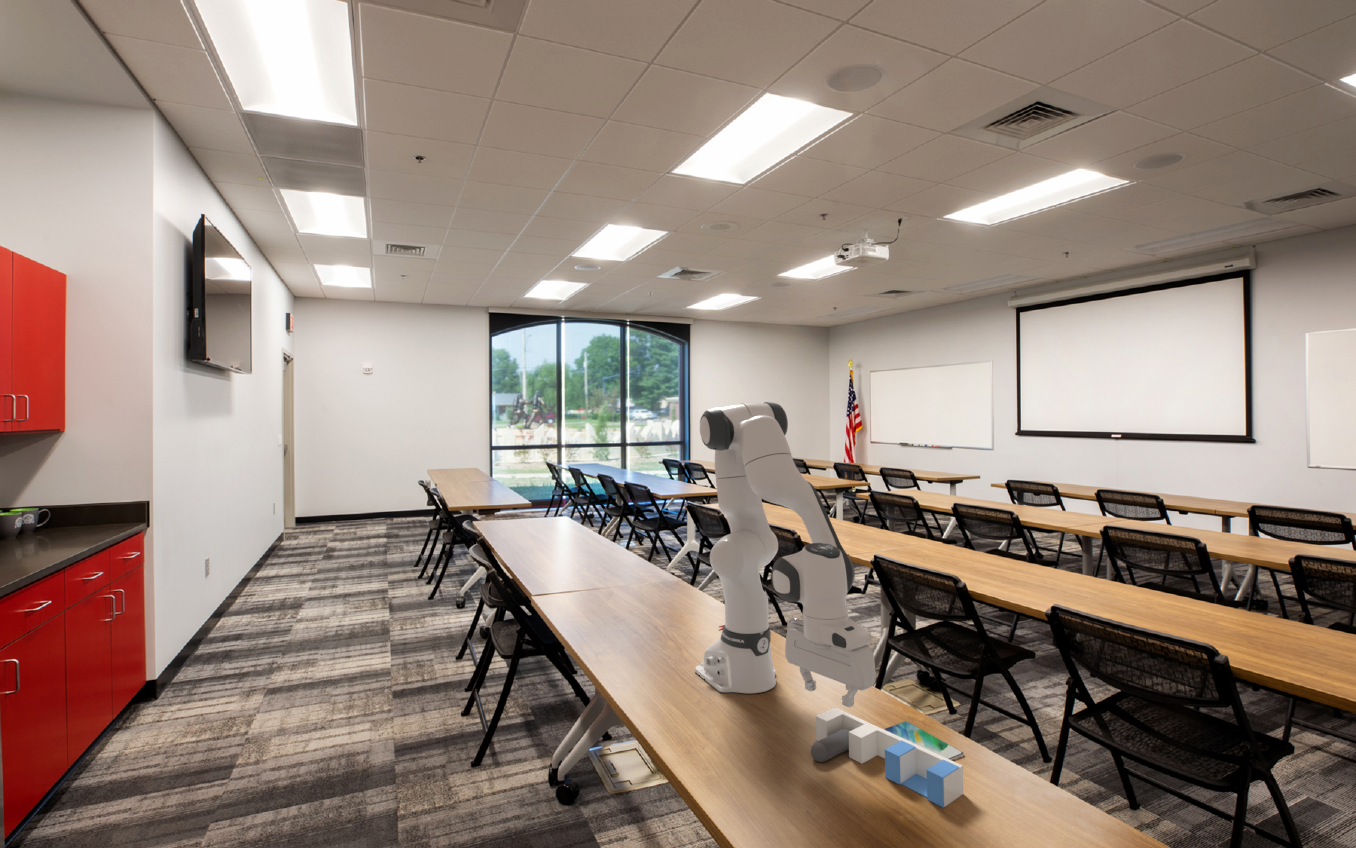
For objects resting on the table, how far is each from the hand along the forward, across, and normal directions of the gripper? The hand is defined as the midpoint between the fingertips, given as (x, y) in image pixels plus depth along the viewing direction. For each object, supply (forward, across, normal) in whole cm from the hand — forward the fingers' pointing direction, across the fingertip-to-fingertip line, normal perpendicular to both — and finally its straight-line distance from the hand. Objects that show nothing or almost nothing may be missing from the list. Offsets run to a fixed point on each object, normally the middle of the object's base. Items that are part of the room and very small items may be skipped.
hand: (828, 697), depth 121 cm
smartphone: (+13, +8, +19) cm, 24 cm away
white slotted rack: (+12, +8, +6) cm, 16 cm away
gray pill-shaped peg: (+12, -1, +2) cm, 12 cm away
